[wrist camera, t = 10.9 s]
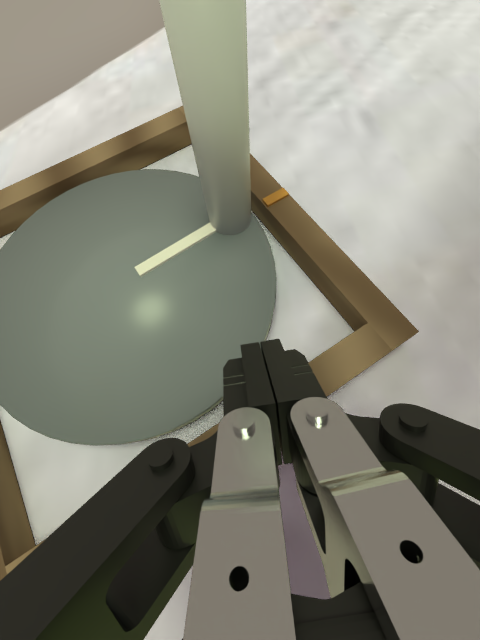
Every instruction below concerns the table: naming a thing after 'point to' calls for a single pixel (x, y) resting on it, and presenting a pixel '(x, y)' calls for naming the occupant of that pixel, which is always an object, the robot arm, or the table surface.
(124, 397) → the dial
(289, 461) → the robot arm
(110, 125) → the table surface
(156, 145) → the dial frame
